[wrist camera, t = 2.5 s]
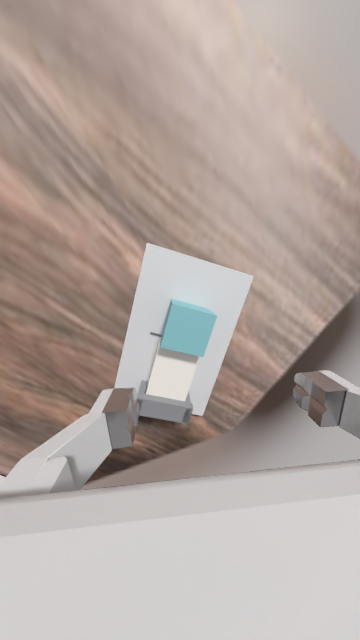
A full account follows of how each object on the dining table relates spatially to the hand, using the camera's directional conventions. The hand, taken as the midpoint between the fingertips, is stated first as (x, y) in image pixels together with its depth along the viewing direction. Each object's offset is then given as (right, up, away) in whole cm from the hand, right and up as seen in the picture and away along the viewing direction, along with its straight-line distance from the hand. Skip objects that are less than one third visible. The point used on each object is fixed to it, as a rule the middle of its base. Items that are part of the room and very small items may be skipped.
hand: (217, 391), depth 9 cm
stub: (-1, +3, +14) cm, 15 cm away
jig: (-2, +1, +16) cm, 16 cm away
